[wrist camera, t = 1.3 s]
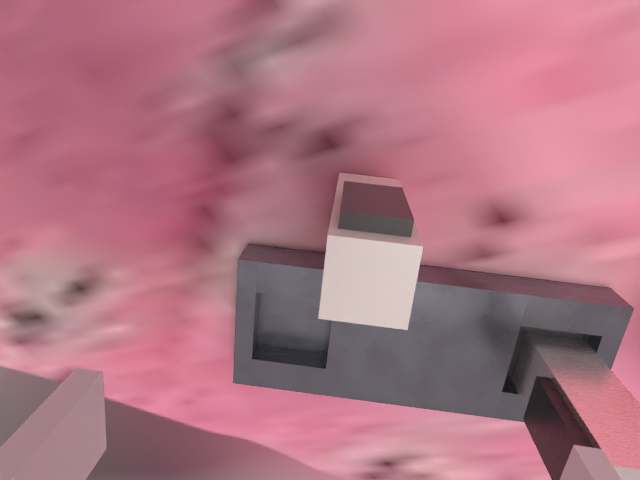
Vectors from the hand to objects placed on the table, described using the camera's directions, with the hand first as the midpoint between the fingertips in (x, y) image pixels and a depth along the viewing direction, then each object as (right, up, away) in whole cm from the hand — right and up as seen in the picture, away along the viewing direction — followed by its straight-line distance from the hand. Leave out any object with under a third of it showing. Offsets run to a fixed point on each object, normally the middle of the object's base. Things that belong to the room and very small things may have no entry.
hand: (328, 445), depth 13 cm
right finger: (+3, +8, +19) cm, 21 cm away
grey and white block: (+7, -1, +22) cm, 23 cm away
